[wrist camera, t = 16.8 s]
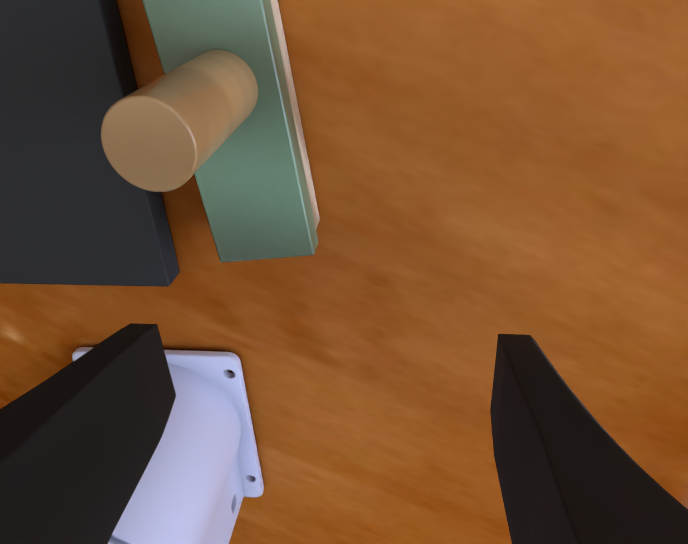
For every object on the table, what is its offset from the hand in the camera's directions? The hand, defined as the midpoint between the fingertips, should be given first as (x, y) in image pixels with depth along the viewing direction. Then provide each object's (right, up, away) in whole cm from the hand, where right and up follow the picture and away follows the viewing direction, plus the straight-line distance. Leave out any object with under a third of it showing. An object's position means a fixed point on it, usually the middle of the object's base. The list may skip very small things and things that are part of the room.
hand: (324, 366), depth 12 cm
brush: (-3, +9, +7) cm, 12 cm away
